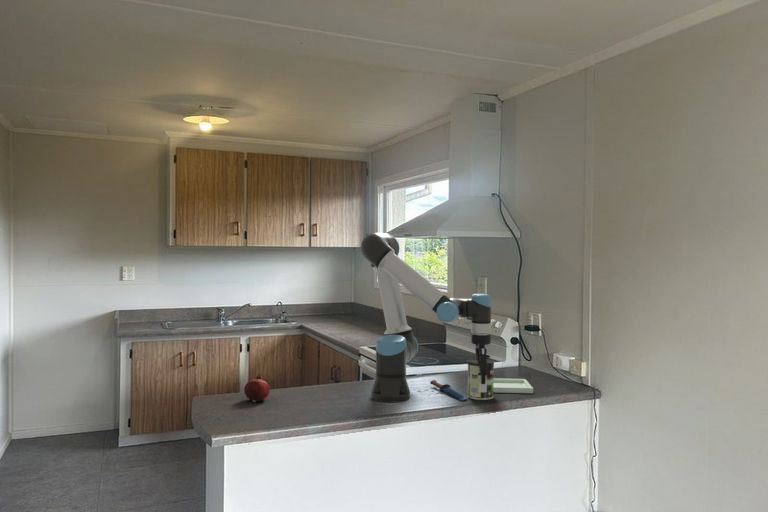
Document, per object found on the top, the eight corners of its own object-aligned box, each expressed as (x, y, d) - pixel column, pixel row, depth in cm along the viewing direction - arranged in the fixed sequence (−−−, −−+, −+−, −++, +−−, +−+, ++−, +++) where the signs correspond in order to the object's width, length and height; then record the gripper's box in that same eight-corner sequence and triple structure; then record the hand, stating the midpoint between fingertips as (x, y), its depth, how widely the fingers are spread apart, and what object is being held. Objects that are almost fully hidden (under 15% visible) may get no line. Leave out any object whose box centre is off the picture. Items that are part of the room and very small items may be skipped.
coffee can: (493, 394, 230) (494, 358, 230) (493, 401, 220) (493, 364, 219) (467, 392, 232) (468, 357, 232) (466, 399, 222) (466, 362, 222)
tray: (493, 392, 233) (493, 387, 232) (487, 382, 248) (487, 378, 248) (533, 393, 232) (533, 388, 232) (525, 383, 248) (525, 379, 248)
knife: (471, 393, 220) (460, 397, 218) (471, 401, 221) (460, 404, 219) (438, 376, 242) (427, 379, 240) (438, 383, 243) (428, 386, 240)
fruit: (249, 405, 210) (249, 378, 210) (240, 399, 218) (241, 373, 218) (273, 402, 215) (273, 375, 215) (264, 396, 223) (264, 370, 223)
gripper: (495, 338, 213) (494, 396, 213) (486, 329, 238) (486, 380, 238) (474, 338, 213) (474, 395, 213) (468, 328, 238) (467, 380, 238)
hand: (480, 387), depth 226 cm, fingers open, 13 cm apart
